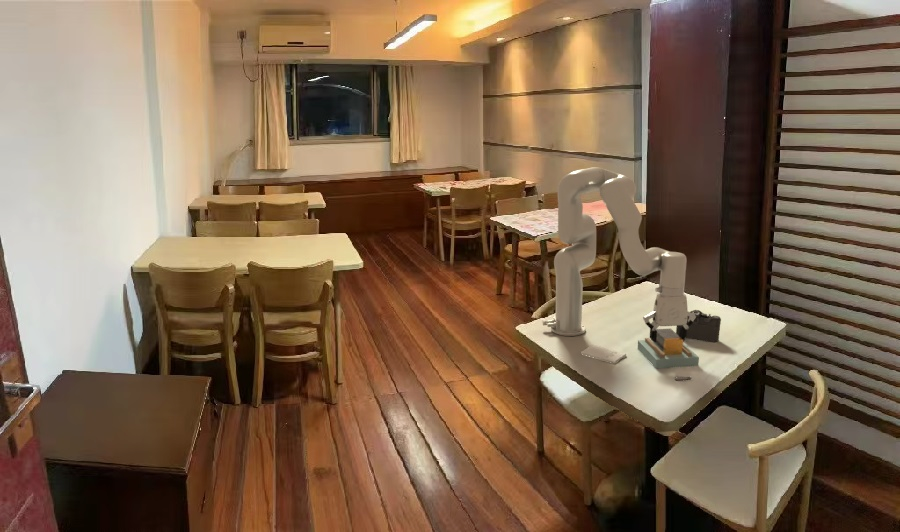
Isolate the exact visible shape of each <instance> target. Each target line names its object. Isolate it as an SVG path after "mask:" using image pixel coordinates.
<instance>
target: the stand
mask: <svg viewBox="0 0 900 532" xmlns="http://www.w3.org/2000/svg"><path fill="white" fill-rule="evenodd" d="M637 350H638V351H639V353H641V354H642V355H643V356H644V358H646V359H647V361H648V360H649V361H650V362H651V363H652V364H653V365H652V364H651V363H650V362H649V361H648V362H649V363H650V364H651V365H652V366H653V367H654V368H655V369H666V368H667V369H669V368H668V367H670V368H682V367H683V368H686V367H699V361H700V356H698V355H697V354H696V353H695V352H694V351H693V350H692V349H691V348H689V347H688V346H687V345H686V344H685V343H684V342H683V348H682V354H676V355H665V354H664V353H663V352H662V351H661V350H660V349H659V348H658V347H657V346H656V345H655V344H654V343H653V341H652V340H651V339H650V337H645V338H644V339H642V340H641V339H640V340H637Z"/></svg>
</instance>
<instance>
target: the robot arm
mask: <svg viewBox="0 0 900 532" xmlns="http://www.w3.org/2000/svg"><path fill="white" fill-rule="evenodd" d="M595 192H596V193H597V192H598V193H599V196H600V197H601V200H602V202H603V204H604V205H605V207H606V209H607V211H608V213H609V214H610V216H611V218H612V220H613V222H614V224H615V225H616V227H617V230H618V240H619V246H620V250H621V253H622V255H623V257H624V259H625V261H626V262H627V264H628V266H629V267H630V269H631V270H632V272H634V273H635V274H637V275H638V276H648V275H650V274H652V273H654V272H658V271H660V279H659V285H658V287H655V292H656V293H657V294H656V296H655V300H654V304H653V311H651V312H650V313H648V314H645V315H644V316H643V317H642V319H643V321H644V323H645V325H646V326H647V327H648V328H649V339H650V340H652V341H653V342H656V338H657V331H656V329H659V326H660V327H672V326H673V327H674V326H675V327H677V326H680V325H681V326H680V330H679V337H681V338H682V339H683V342H685V341H686V338H685V337H686V333H687V329H688V328H689V326H690V325H691V324H692V323H693V321H694V319H695V318H696V315H694V314H692V313H690V312H691V311H688V310H689V309H688V297H687V295H686V294H685V283H686V271H687V262H688V261H687V256H686V255H685V253H682V252H677V251H671V250H670V251H669V250H666V249H664V248H660V247H657V246H656V247H655V246H654V247H650V248H647V249H645V248H644V246H643V244H642V242H641V240H640V234H639V231H640V230H639V229H640V226H641V223H642V220H643V216H642V214H641V212H640V210H639V209H638V206H637V205H636V203H635V201H634V200H633V198H634V197H635V195H636V192H637V186H636V183H635V182H634V180H633V179H631V178H630V177H628V176H626V175H624V174H621V173H618V172H615V171H612V170H608V169H606V168H603V167H598V166H596V167H595V166H594V167H589V168H582V169H578V170H574V171H572V172H570V173H568V174H565V175H564V176H563V177H562V178H561V179H560V181H559V182H558V186H557V203H558V204H557V208H558V209H557V232H558V233H557V235H558V238H559V241H560V242H561V243H563V244H565V245H570V246H567V247H564V248H561V249H560V250H559V251H558V252H556V254H555V256H554V258H553V259H554V260H553V265H554V266H553V267H554V271H555V316H553V318H552V319H549V320H548V319H543V320H542V321H541V323H542V326H547V327H548V328H550V330H551V332H553V333H554V334H557V335H559V336H565V337H574V336H575V337H576V336H581V335H583V334H585V333H586V329H587V328H586V326H585V325H584V324H582V322H583V321H582V318H583V317H582V316H583V315H582V314H583V312H582V311H583V290H584V289H583V288H584V286H583V279H582V275H581V271H582V270H584V269H587V268H589V267H591V266H592V265H593V264H594V263H595V260H596V257H597V226H596V223H595V220H594V219H593V217H592V216H591V215H589V214H586V213H583V208H584V207H583V201H582V198H581V196H583V195H586V194H591V193H595ZM571 244H572V245H571ZM687 316H689V319H688V320H687ZM650 319H652V322H650Z"/></svg>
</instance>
